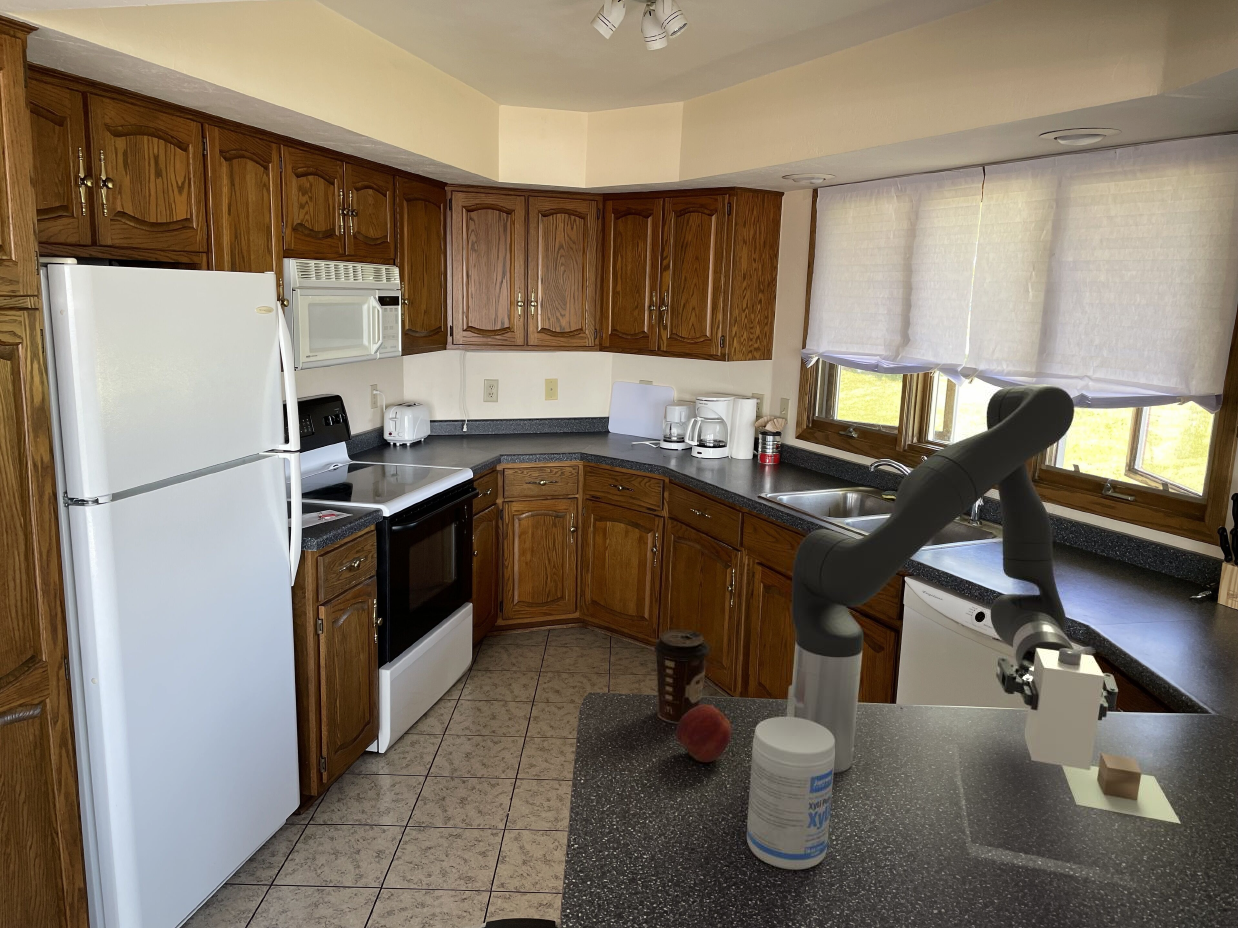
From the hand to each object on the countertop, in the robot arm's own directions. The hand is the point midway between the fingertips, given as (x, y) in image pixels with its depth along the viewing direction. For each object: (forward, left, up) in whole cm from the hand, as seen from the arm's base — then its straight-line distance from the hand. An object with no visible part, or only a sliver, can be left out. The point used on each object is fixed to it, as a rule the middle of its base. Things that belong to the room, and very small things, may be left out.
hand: (1067, 707), depth 104 cm
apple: (-42, +16, -18) cm, 48 cm away
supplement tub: (-33, -4, -18) cm, 38 cm away
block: (+14, +12, -17) cm, 25 cm away
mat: (+14, +12, -18) cm, 25 cm away
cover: (+1, +2, -7) cm, 7 cm away
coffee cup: (-45, +29, -18) cm, 56 cm away
